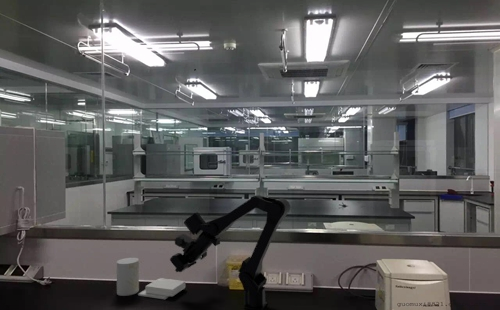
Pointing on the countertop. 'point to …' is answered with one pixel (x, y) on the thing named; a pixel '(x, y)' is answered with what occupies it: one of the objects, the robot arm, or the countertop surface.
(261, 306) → the robot arm
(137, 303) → the countertop surface
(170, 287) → the white rectangular block
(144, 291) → the mat
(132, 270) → the grey upright cylinder
